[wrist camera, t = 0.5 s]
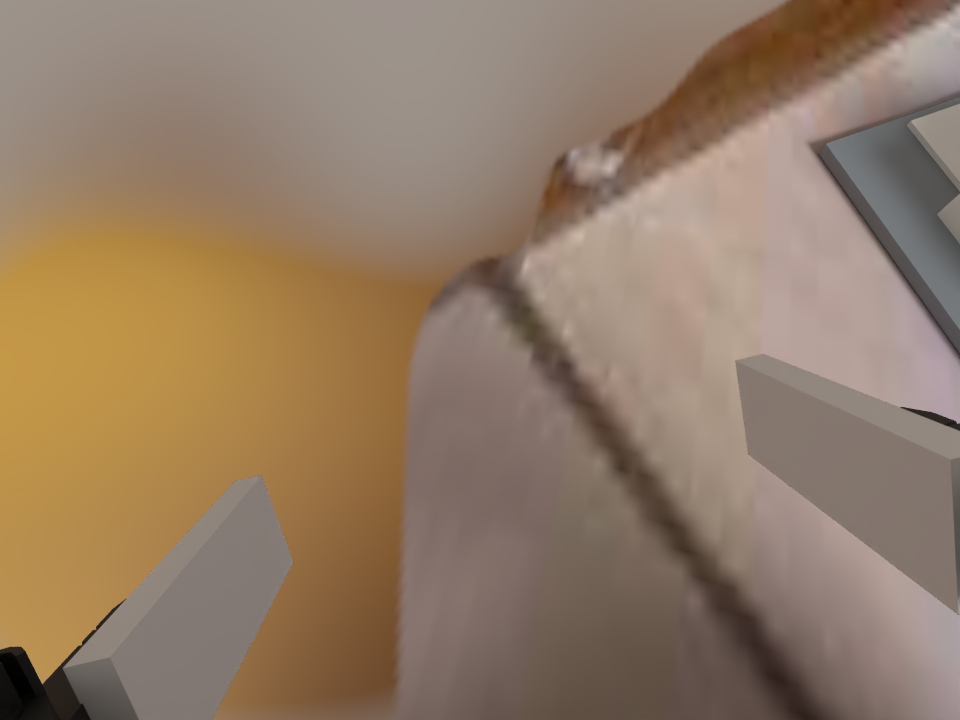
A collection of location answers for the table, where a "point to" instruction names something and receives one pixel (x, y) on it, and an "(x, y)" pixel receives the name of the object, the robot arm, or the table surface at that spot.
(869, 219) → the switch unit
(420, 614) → the table surface
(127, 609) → the robot arm
